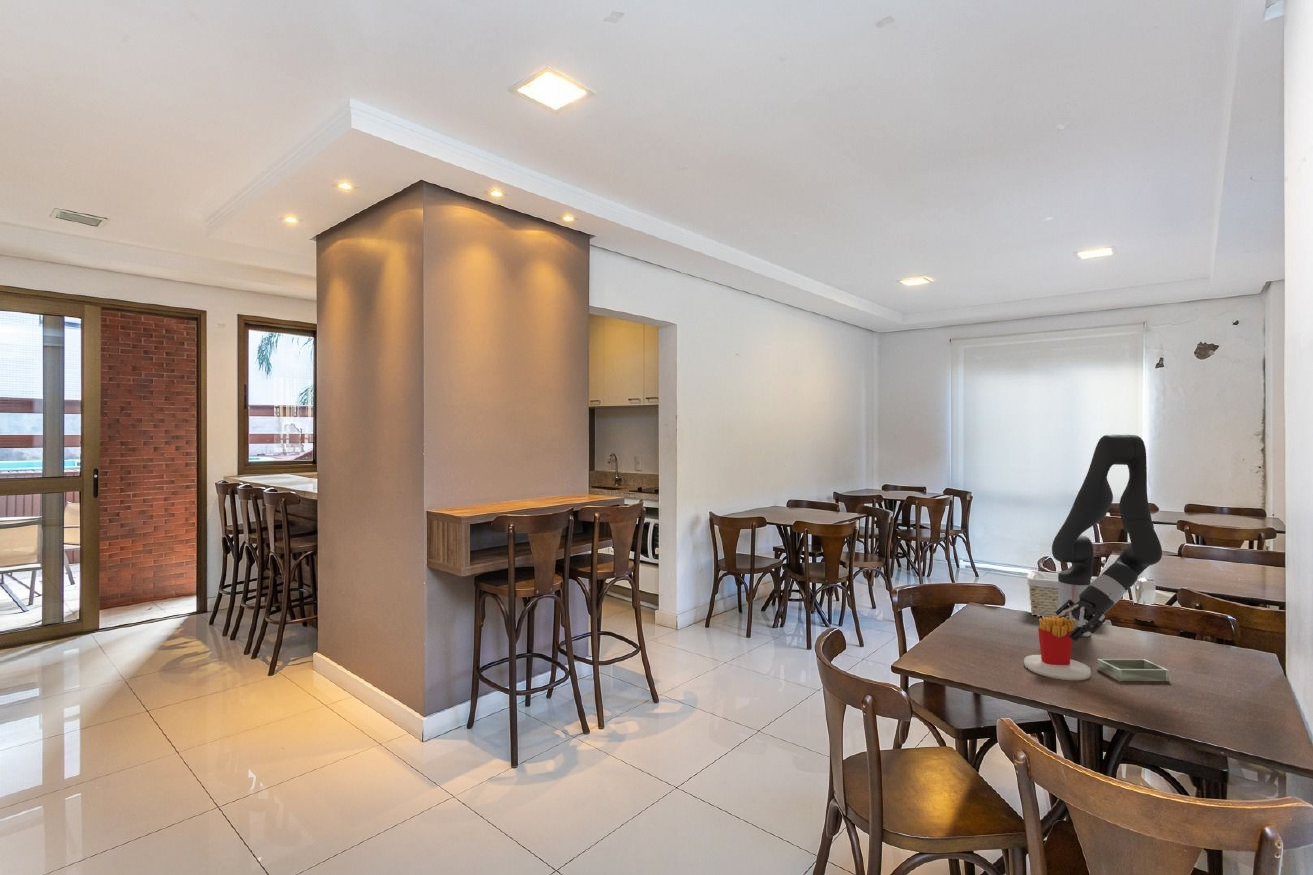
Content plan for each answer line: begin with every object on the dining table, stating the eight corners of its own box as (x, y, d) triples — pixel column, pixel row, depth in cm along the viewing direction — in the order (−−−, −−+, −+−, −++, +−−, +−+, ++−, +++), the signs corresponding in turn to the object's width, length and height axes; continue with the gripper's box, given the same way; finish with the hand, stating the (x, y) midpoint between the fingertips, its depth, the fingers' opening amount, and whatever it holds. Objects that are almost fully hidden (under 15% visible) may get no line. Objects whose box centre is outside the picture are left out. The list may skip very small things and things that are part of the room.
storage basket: (1026, 616, 231) (1026, 576, 231) (1028, 606, 244) (1028, 569, 244) (1105, 627, 218) (1105, 585, 218) (1103, 616, 231) (1103, 576, 231)
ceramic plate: (1012, 659, 185) (1012, 654, 185) (1066, 659, 185) (1066, 654, 185) (1045, 680, 169) (1045, 674, 169) (1104, 680, 169) (1104, 674, 169)
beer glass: (1127, 618, 227) (1126, 577, 228) (1139, 616, 230) (1139, 576, 230) (1147, 623, 221) (1147, 581, 221) (1160, 621, 223) (1160, 580, 223)
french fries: (1043, 664, 177) (1043, 619, 177) (1036, 659, 181) (1035, 615, 181) (1077, 665, 176) (1077, 620, 176) (1069, 660, 180) (1068, 615, 181)
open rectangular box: (1096, 669, 177) (1096, 658, 177) (1144, 669, 177) (1144, 658, 177) (1118, 680, 169) (1118, 669, 169) (1169, 681, 169) (1169, 670, 169)
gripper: (1076, 579, 184) (1037, 617, 185) (1110, 591, 170) (1068, 632, 170) (1094, 596, 184) (1055, 634, 185) (1130, 610, 170) (1088, 651, 170)
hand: (1062, 633), depth 178 cm, fingers open, 8 cm apart
